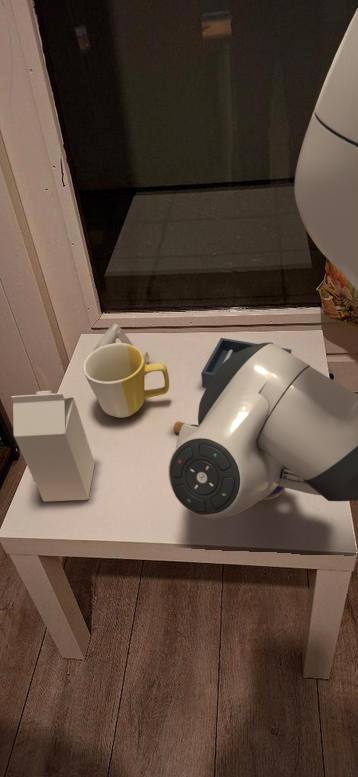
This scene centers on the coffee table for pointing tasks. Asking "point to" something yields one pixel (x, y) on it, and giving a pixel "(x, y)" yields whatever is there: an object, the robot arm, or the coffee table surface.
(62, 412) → the milk carton
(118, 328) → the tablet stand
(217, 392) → the robot arm
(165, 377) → the mug
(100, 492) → the coffee table surface
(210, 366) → the drying rack
